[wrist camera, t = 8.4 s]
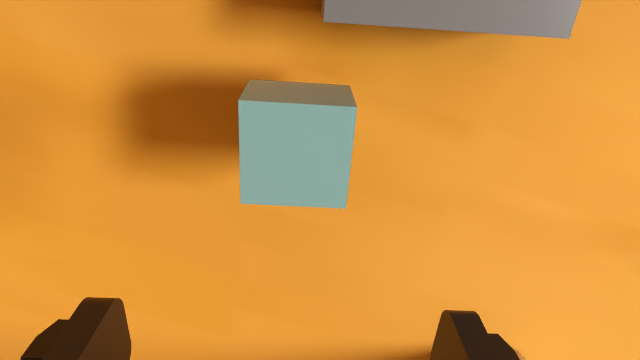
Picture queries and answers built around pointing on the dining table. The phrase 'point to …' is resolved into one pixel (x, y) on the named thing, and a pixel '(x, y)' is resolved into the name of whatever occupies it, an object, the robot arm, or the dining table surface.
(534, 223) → the dining table surface
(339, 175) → the plug
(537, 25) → the socket
